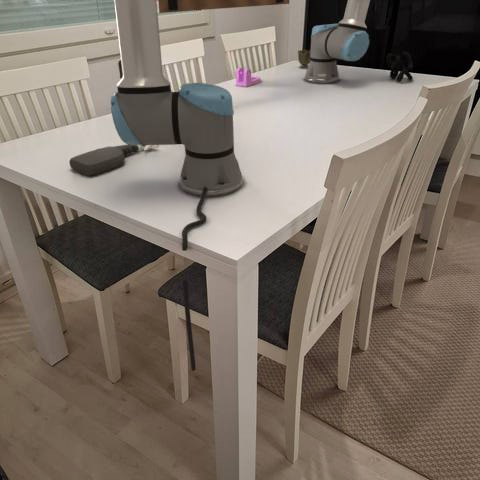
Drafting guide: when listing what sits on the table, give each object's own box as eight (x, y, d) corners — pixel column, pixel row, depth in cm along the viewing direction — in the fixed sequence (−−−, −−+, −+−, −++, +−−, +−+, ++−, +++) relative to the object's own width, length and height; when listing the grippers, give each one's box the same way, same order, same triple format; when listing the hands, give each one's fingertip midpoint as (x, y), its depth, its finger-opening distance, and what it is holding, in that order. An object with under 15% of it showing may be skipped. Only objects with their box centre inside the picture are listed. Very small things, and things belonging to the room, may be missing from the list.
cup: (294, 68, 226) (295, 51, 222) (300, 65, 232) (301, 48, 227) (308, 69, 223) (309, 52, 219) (313, 66, 229) (315, 49, 224)
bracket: (246, 86, 195) (246, 69, 191) (236, 85, 197) (235, 68, 194) (263, 80, 203) (263, 64, 200) (253, 79, 206) (253, 63, 202)
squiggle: (400, 92, 202) (376, 71, 205) (417, 76, 202) (392, 56, 205) (405, 81, 191) (380, 59, 194) (423, 64, 191) (397, 42, 194)
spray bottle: (67, 168, 120) (139, 144, 136) (91, 178, 114) (163, 151, 130) (65, 157, 118) (137, 134, 134) (89, 167, 112) (162, 142, 128)
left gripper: (187, -86, 121) (194, 10, 134) (159, -81, 134) (167, 6, 146) (162, -87, 118) (171, 12, 130) (136, -82, 130) (146, 8, 143)
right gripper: (303, -81, 141) (299, 2, 153) (269, -77, 153) (268, 0, 166) (284, -81, 137) (282, 4, 150) (251, -77, 150) (252, 1, 162)
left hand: (169, 9), depth 138 cm, fingers closed on bar, 5 cm apart
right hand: (275, 1), depth 158 cm, fingers closed on bar, 5 cm apart
